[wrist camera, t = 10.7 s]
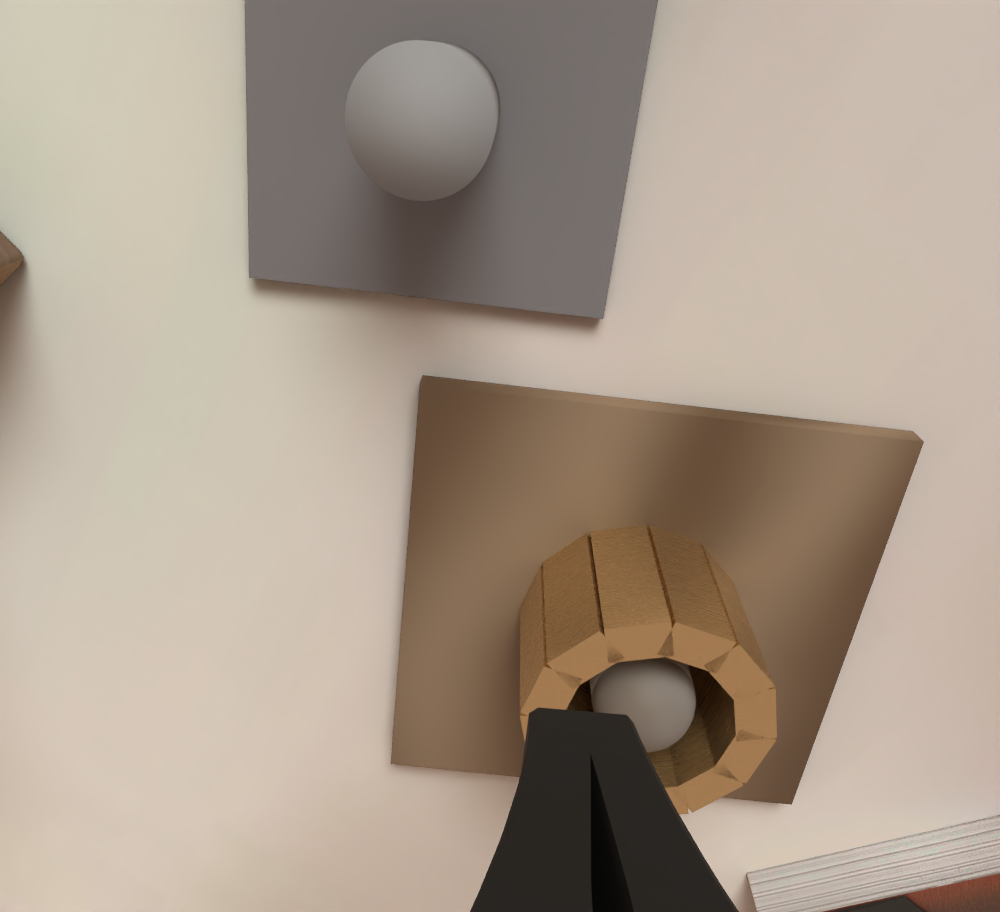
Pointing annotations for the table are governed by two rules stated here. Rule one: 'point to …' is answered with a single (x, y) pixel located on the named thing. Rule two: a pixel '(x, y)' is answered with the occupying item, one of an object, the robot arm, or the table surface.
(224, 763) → the table surface
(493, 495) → the hub plate
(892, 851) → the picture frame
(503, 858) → the robot arm
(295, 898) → the table surface
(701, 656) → the wooden ring
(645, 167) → the table surface
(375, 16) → the stand rod
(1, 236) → the wooden block
